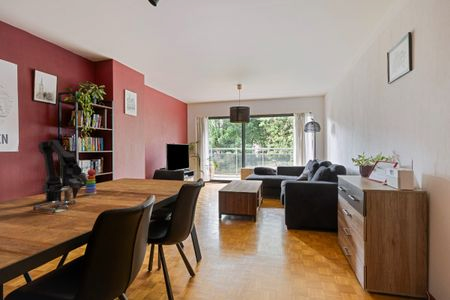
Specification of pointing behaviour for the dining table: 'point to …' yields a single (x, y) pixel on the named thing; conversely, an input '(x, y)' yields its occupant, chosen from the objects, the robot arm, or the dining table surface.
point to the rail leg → (55, 202)
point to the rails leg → (52, 208)
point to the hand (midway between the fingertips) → (67, 199)
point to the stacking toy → (90, 183)
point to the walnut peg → (67, 196)
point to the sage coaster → (60, 210)
